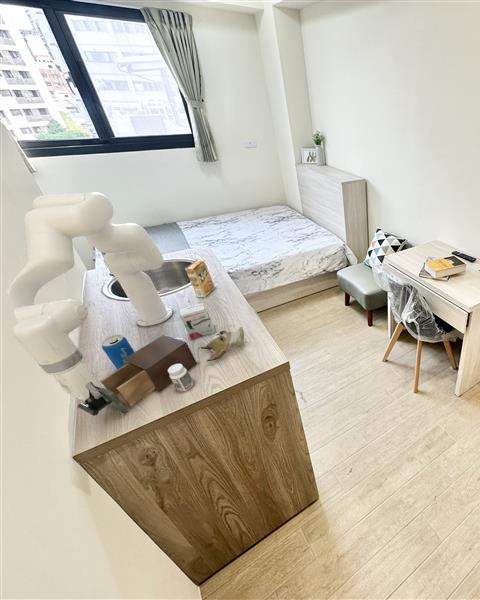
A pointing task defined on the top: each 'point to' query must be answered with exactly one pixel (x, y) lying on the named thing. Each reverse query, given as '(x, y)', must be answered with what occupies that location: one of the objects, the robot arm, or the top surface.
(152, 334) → the top surface
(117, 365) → the beverage can
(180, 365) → the pill bottle
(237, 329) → the ceramic sculpture
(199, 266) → the candy box
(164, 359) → the cabinet
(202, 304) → the ink box
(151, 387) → the drawer
